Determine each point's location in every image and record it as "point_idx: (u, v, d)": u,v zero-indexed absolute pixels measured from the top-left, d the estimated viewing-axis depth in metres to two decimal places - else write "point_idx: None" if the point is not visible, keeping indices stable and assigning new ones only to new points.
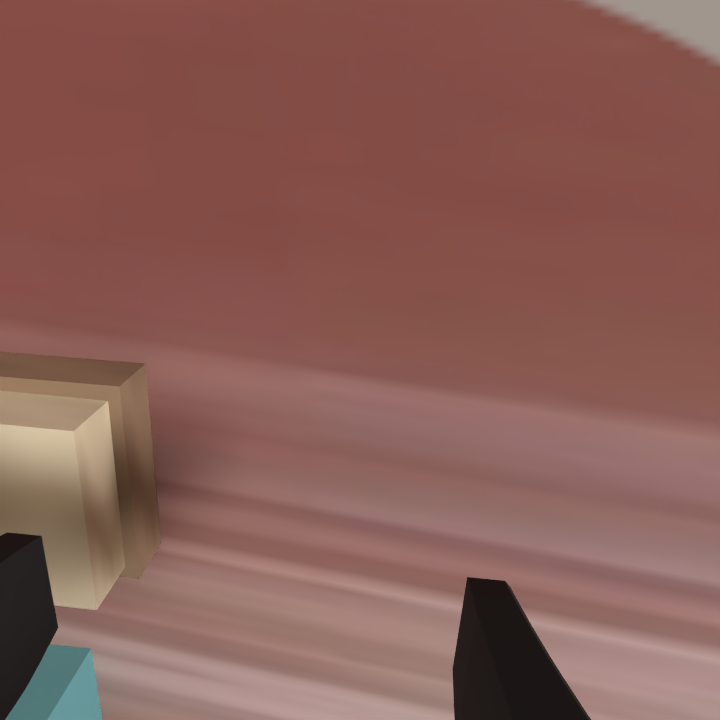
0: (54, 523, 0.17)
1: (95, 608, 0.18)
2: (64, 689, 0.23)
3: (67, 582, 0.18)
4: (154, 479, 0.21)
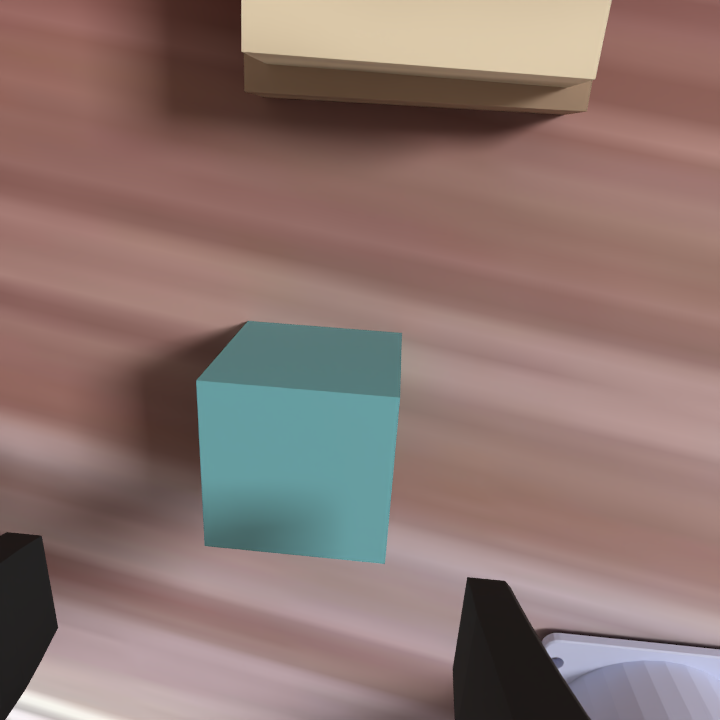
0: None
1: (593, 76, 0.10)
2: (398, 356, 0.15)
3: (560, 11, 0.10)
4: None
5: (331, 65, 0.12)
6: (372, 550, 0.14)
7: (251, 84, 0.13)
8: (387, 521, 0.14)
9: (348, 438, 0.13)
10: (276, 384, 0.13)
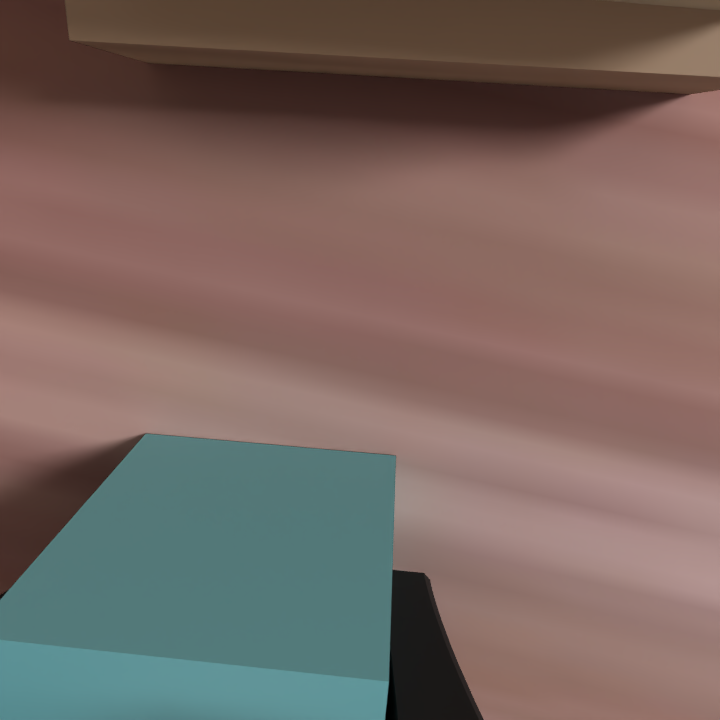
0: None
1: None
2: (389, 528, 0.08)
3: None
4: None
5: None
6: None
7: (81, 24, 0.06)
8: None
9: None
10: (136, 640, 0.06)
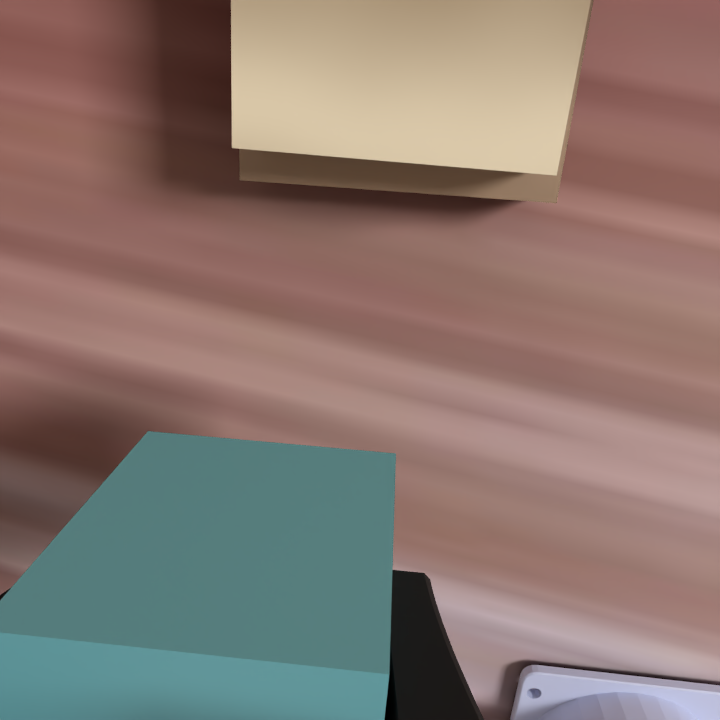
0: None
1: (554, 172, 0.11)
2: (389, 525, 0.08)
3: (523, 116, 0.11)
4: None
5: None
6: None
7: (246, 174, 0.14)
8: None
9: None
10: (140, 633, 0.06)
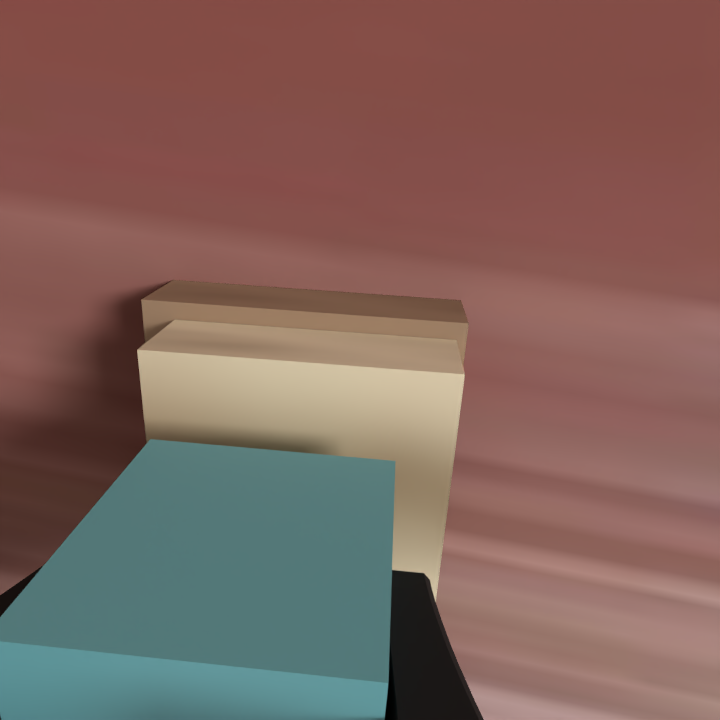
0: (401, 510, 0.12)
1: None
2: (388, 533, 0.08)
3: None
4: None
5: None
6: None
7: None
8: None
9: None
10: (143, 642, 0.06)
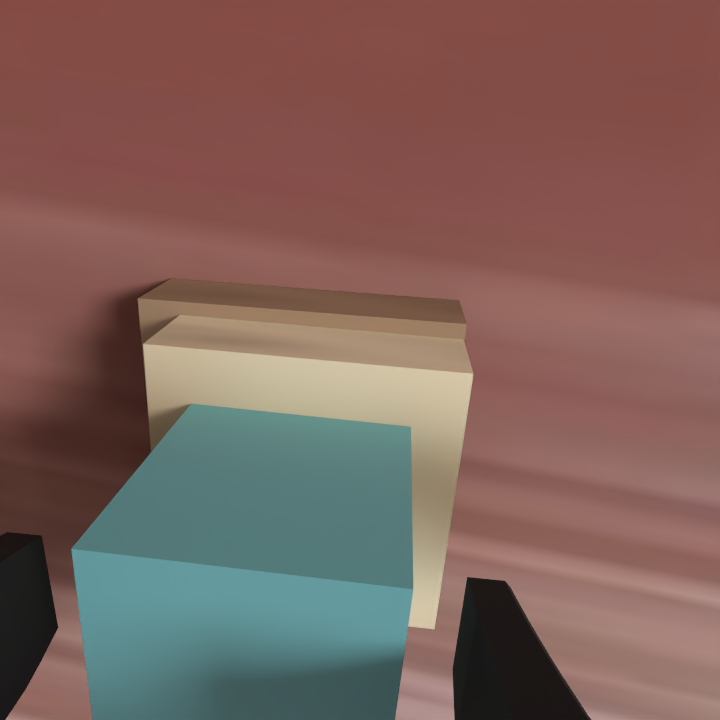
0: None
1: (432, 626, 0.13)
2: (408, 481, 0.10)
3: None
4: None
5: None
6: None
7: None
8: None
9: (326, 645, 0.08)
10: (207, 555, 0.08)
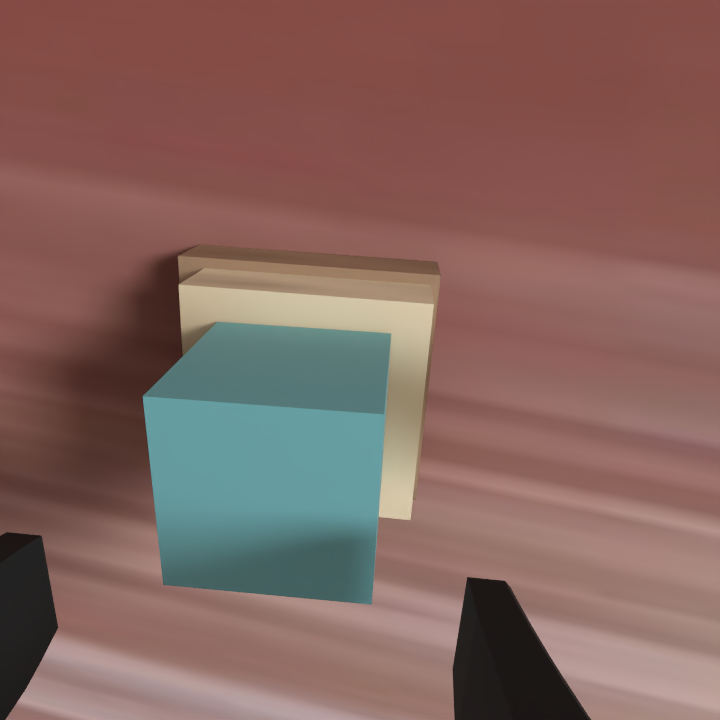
0: None
1: (408, 518, 0.17)
2: (385, 363, 0.13)
3: (384, 487, 0.16)
4: None
5: None
6: (357, 589, 0.12)
7: None
8: (373, 557, 0.12)
9: (324, 462, 0.11)
10: (238, 399, 0.11)
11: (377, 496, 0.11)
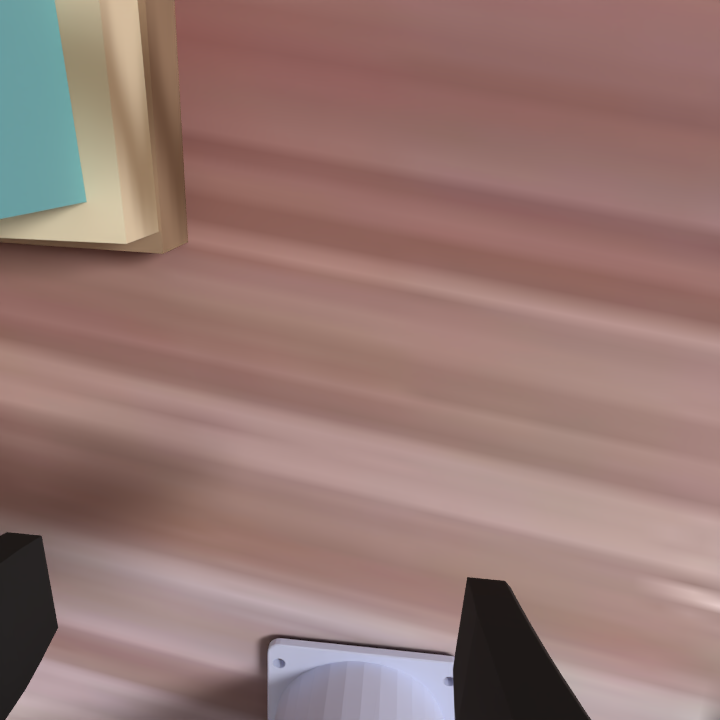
0: None
1: (124, 241, 0.14)
2: None
3: (88, 200, 0.14)
4: (180, 143, 0.17)
5: None
6: None
7: None
8: None
9: None
10: None
11: None
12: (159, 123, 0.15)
